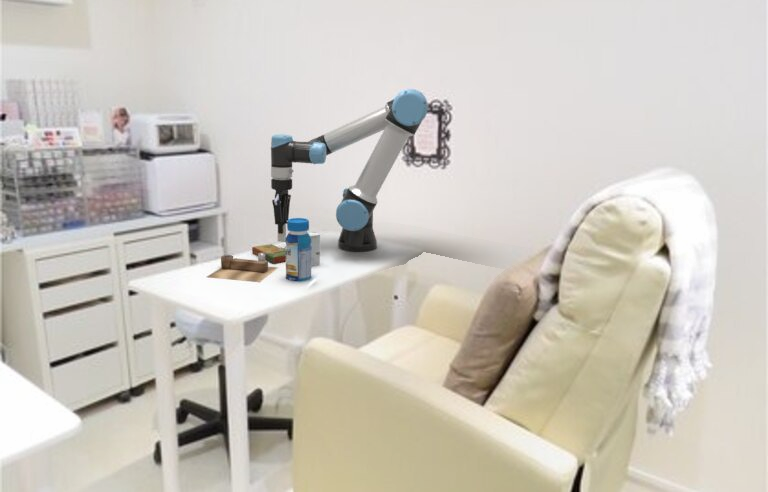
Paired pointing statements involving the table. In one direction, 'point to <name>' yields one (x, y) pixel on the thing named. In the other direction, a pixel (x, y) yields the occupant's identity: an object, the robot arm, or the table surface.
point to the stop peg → (261, 257)
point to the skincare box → (315, 249)
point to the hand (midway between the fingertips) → (281, 241)
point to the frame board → (241, 274)
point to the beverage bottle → (298, 250)
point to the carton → (271, 253)
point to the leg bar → (243, 264)
